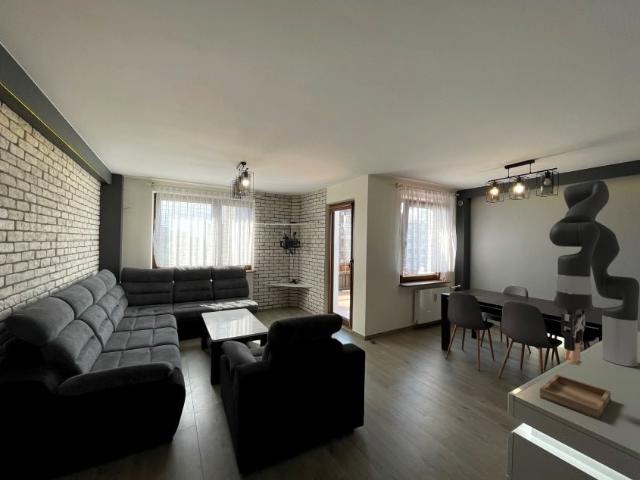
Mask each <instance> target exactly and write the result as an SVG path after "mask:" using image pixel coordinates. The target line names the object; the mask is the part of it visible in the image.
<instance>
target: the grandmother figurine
mask: <svg viewBox="0 0 640 480" xmlns="http://www.w3.org/2000/svg"><path fill="white" fill-rule="evenodd" d="M582 328H583V325H582V324H581V323H580V327H579V330H580V329H582ZM581 343H582V342H581V338H580V333H579V332H578V331H576V337H575V350H574V351H570V350H566V349H565V353H564V354H565V355H564V359H566V362H567V363H568V364H570V365H573V366H581V364H582V363H583V362H582V361H581V360H582V359H581V358H582V357H581V345H580V344H581Z"/></svg>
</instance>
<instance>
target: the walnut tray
mask: <svg viewBox="0 0 640 480" xmlns="http://www.w3.org/2000/svg"><path fill="white" fill-rule="evenodd" d="M611 395H612V394H611V391H610V390H607V389H604V388H602V387H598V386H595V385H592V384H588V383H585V382H582V381H579V380H576V379H572V378H569V377H566V376H563V375H560V374H556V375H554V376H553V377H552V378H551V379H550V380H548V381H547V382H546V383H545V384H544V385H542V386H541V387H540V388H539V398H540V399H543V400H546V401H548V402H551V403H553V404H556V405H558V406H561V407H563V408H567V409H570V410H571V411H574V412H577V413H580V414H583V415H584V416H587V417H590V418H593V419H595V420H598V421H599V420H600V419H601V417H602V415H603V413H604V412H605V410H606V409H607V406H608V405H609V403H610V402H611V398H612V396H611Z"/></svg>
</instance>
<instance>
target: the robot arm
mask: <svg viewBox="0 0 640 480" xmlns="http://www.w3.org/2000/svg"><path fill="white" fill-rule="evenodd" d="M563 198H564V202H565V204H566V206H567V209H568V210H567V211H566V213H565V216H564V217H562V218H561V219H560V220H558V221H557V222H555V223H554V225H552V227H551V228H550V231H549V233H548V234H549V235H548V236H549V241H550V242H551V244H553V245H554V246H557V247H562V248H565V247H566V248H571V247H572V248H573V247H574V248H576V247H577V248H581V249H580V250H579V251H577V252H575V253H572V254H571V253H569V254H562V255H560V256H558V257H557V276H556V277H557V279H556V297H555V298H556V301H555V302H556V303H555V304H556V305H557V306H558V307H561V308H564V309H565V311H564V312H562V313H561V314H560V335H562V336H563V348H564V349H565V351H566V350H570V351H574V350H575V337H576V331H578V332H579V333H580V338H581V342H582V343H581V344H580V346H583V344H584V343H583V341H584V339H583V338H584V332H585V329H586V327H587V326H586V311H588V310H592V308H593V284H592V283H593V282H592V277H591V271H592V276H593V280H594V285H595V289H596V291H597V293H598V295H599V296H600V297H602V298H605V299H609V300H616V301H622V303H621V304H620V305H617V306H608V307H607V306H606V307H603V308H602V309H601V310H602V311H601V313H602V314H601V315H602V316H601V323H602V325H601V326H602V327H601V330H602V331H601V333H602V338H601V339H602V340H601V341H602V342H601V344H602V348H601V349H602V350H601V351H602V352H601V353H602V355H601V356H602V357H601V358H602V359H603V360H605V361H606V362H609V363H612V364H617V365H620V366H624V367H632V368H633V367H634V368H635V366H636V367H638V365H639V364H638V363H639V361H638V360H639V349H638V348H639V344H638V343H639V339H638V338H639V335H638V332H639V331H638V330H639V328H638V327H639V326H638V322H639V321H638V320H639V318H638V316H639V303H640V302H639V301H640V283H639V281H638V279H637V278H636V277H629V276H618V275H610V274H609V273H608V268H609V266H610V265H611V264H612V262H613V261H615V259H616V258H617V257H618V255H619V252H620V249H621V248H620V244H619V242H618V239H617V235H616V234H615V232H614V231H613V230H611V228H609V227H607V225H604V224H602V223H601V222H599V221H597V220H596V219H597V215H598V214H599V213H600V212H601V211H602V210H603V209H604V207H606V205H607V204H608V203H609V200H610V191H609V187H608V185H607V184H606V182H605V181H603V180H600V179H595V180H591V181H590V180H589V181H586V182H585V181H584V182H580V183H577V184H573V185H569V186H567V187H565V188H564V190H563ZM580 323H581V324H582V325H583V328H582V329H580V330H579V327H580ZM568 330H569V331H568Z"/></svg>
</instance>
